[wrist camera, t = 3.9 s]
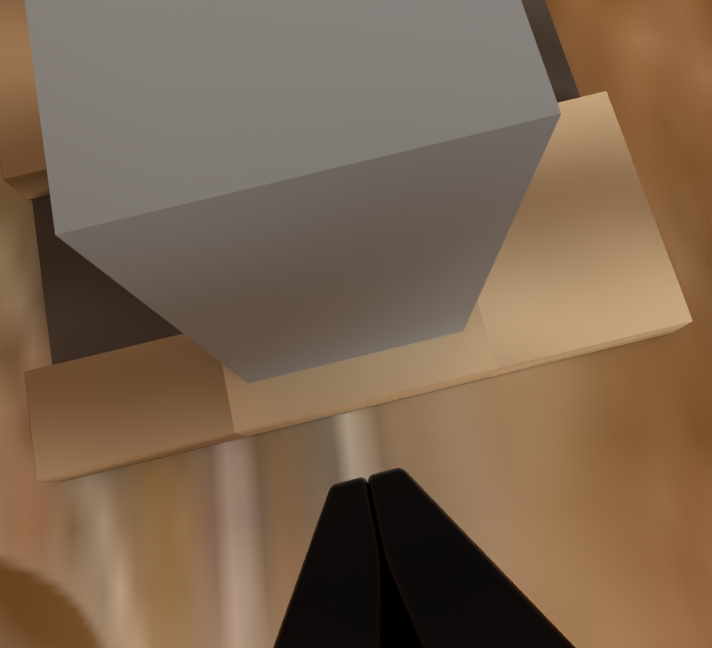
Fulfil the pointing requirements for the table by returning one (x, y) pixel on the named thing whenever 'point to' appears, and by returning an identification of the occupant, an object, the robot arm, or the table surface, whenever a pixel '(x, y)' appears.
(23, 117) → the trap board
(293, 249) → the slate block
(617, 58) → the table surface
